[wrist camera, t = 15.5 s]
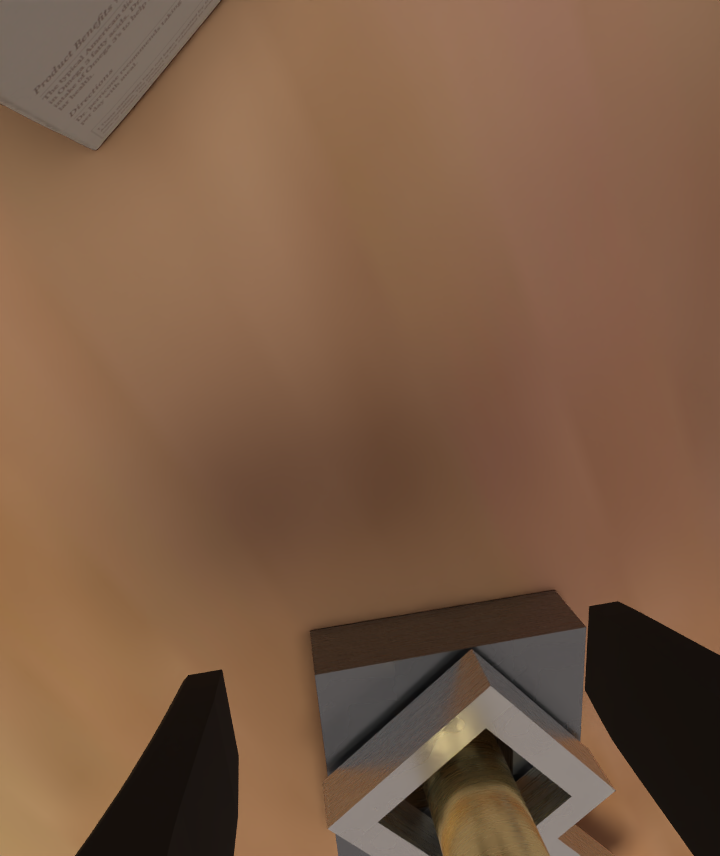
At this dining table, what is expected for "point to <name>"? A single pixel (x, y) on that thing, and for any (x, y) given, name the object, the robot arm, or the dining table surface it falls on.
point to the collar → (442, 739)
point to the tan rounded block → (481, 805)
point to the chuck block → (432, 656)
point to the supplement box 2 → (88, 58)
